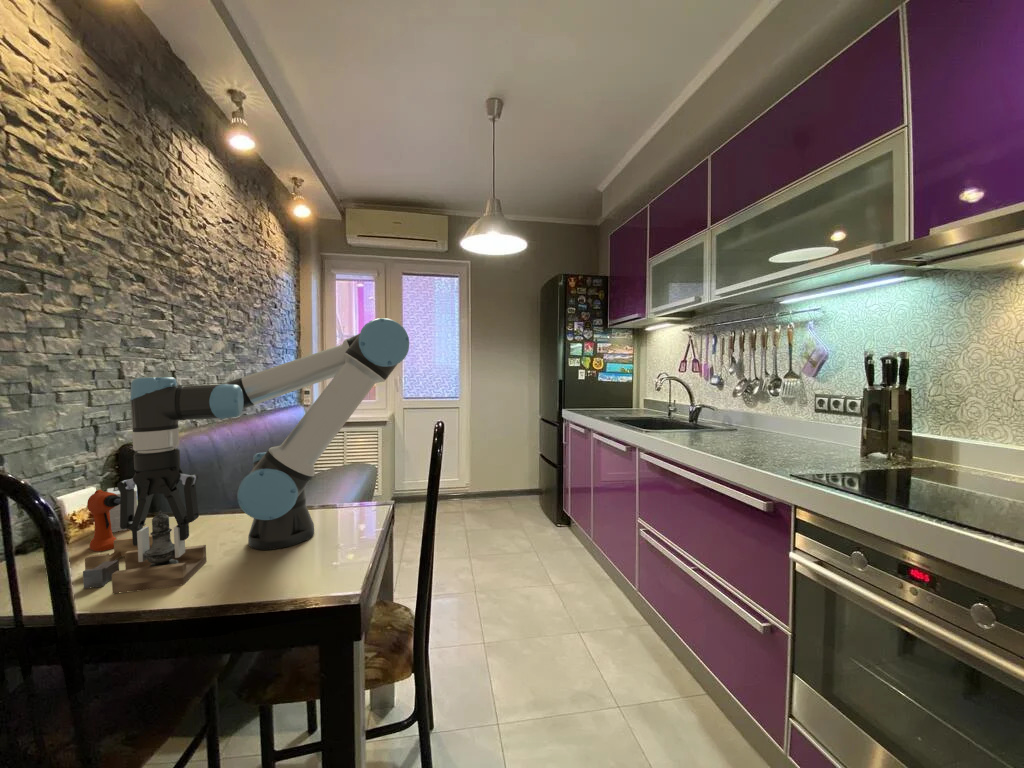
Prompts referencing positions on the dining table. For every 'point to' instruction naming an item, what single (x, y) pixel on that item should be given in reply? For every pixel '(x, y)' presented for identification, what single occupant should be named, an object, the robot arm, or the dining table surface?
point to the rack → (160, 572)
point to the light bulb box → (116, 510)
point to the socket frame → (118, 554)
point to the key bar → (100, 574)
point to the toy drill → (102, 519)
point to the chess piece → (161, 542)
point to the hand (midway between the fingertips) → (162, 556)
